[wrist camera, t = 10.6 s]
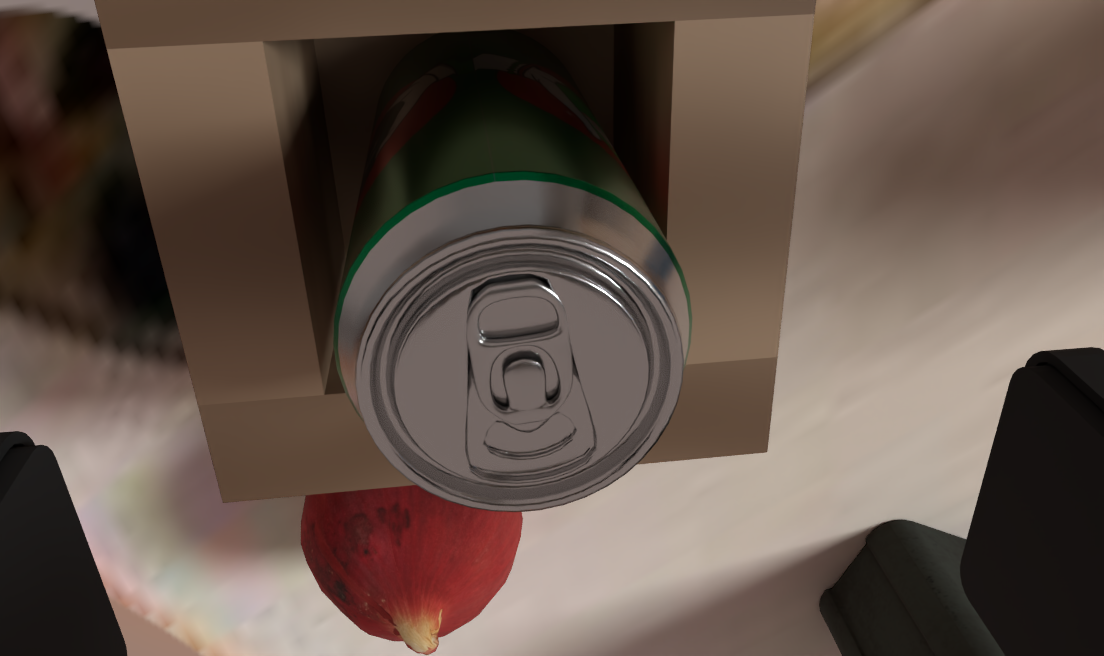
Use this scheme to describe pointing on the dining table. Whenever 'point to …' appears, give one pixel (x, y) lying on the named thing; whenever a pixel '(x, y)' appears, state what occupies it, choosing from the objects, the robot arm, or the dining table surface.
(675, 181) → the well block
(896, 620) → the black handled stick
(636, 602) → the dining table surface
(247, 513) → the dining table surface
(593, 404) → the soda can
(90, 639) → the robot arm
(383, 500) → the onion
